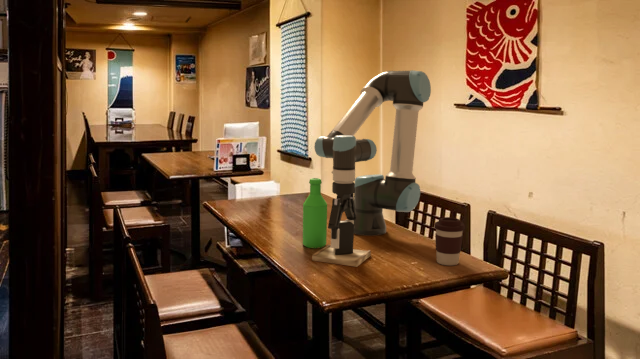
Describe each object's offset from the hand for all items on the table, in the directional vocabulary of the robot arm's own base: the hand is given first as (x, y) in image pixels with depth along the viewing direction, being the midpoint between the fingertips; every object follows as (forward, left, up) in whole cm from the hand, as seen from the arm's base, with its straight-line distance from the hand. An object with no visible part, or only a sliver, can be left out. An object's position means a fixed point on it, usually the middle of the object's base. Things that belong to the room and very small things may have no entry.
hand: (342, 243), depth 197 cm
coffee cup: (-11, +34, -6) cm, 36 cm away
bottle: (-10, -15, -6) cm, 19 cm away
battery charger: (0, 0, -4) cm, 4 cm away
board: (0, 0, -5) cm, 5 cm away
